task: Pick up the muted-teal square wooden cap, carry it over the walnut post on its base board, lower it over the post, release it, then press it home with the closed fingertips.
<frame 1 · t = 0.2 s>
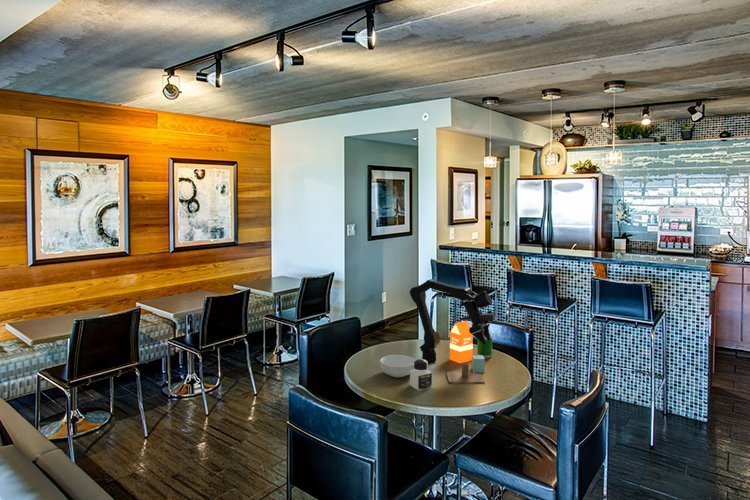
hand: (487, 342, 237), 15 cm above the table, tool tilted 30°, fingers open, 9 cm apart
medicine bottle: (420, 387, 221), on the table
orange juice: (461, 360, 257), on the table
cap: (478, 370, 241), on the table
post: (465, 378, 230), on the table
cereal bowl: (397, 375, 236), on the table
soda can: (484, 356, 262), on the table
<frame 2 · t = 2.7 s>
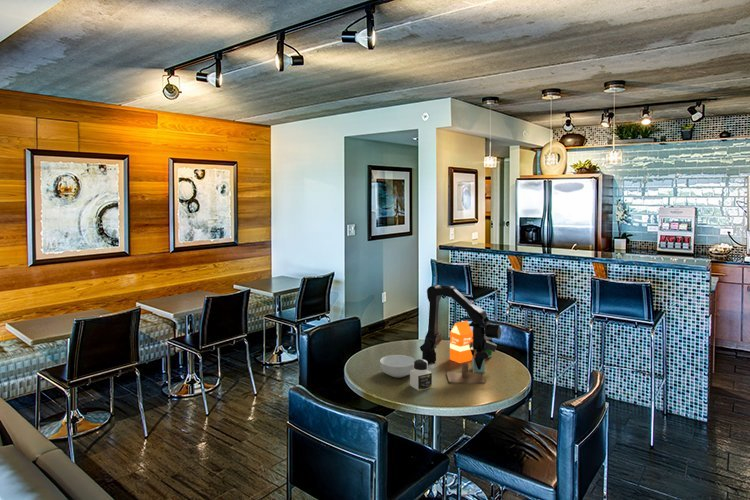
hand: (478, 367, 241), 2 cm above the table, tool pointing down, fingers closed on cap, 5 cm apart
cap: (478, 370, 241), on the table, touching gripper
everything else where it was.
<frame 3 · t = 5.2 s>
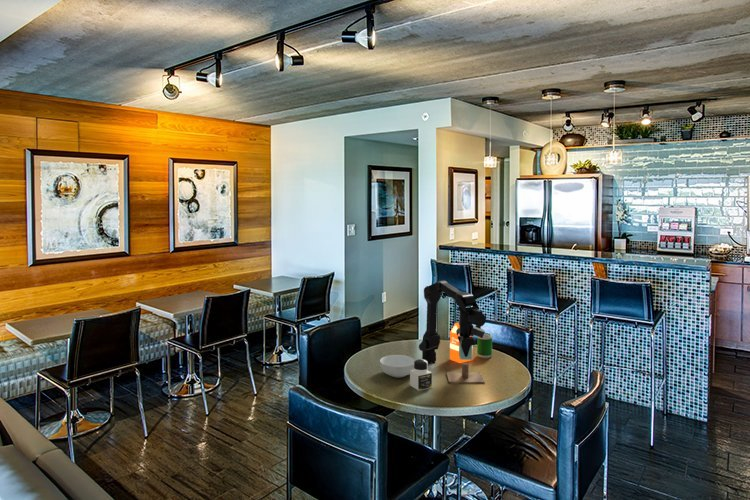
hand: (465, 354, 229), 11 cm above the table, tool pointing down, fingers closed on cap, 5 cm apart
cap: (465, 357, 229), point 10 cm above the table, touching gripper
everything else where it was.
when the fingers open (4 cm above the table, at t = 7.6 s): cap drops 1 cm, resting on post.
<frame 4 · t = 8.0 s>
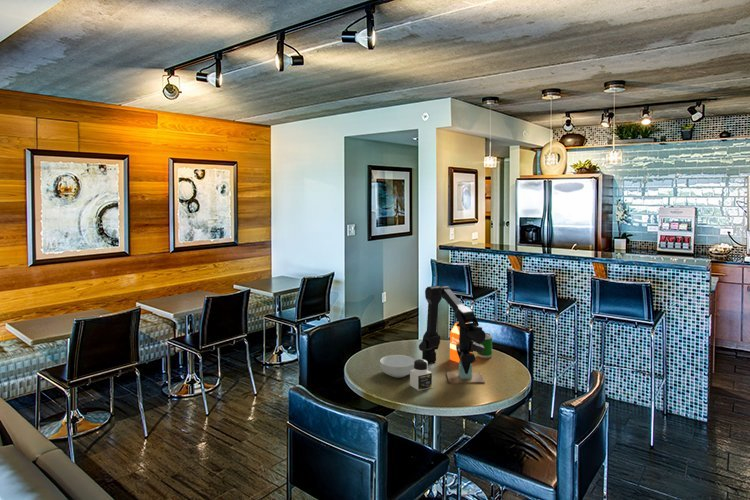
hand: (465, 370, 230), 4 cm above the table, tool pointing down, fingers open, 9 cm apart
cap: (465, 376, 230), point 1 cm above the table, touching post
everything else where it was.
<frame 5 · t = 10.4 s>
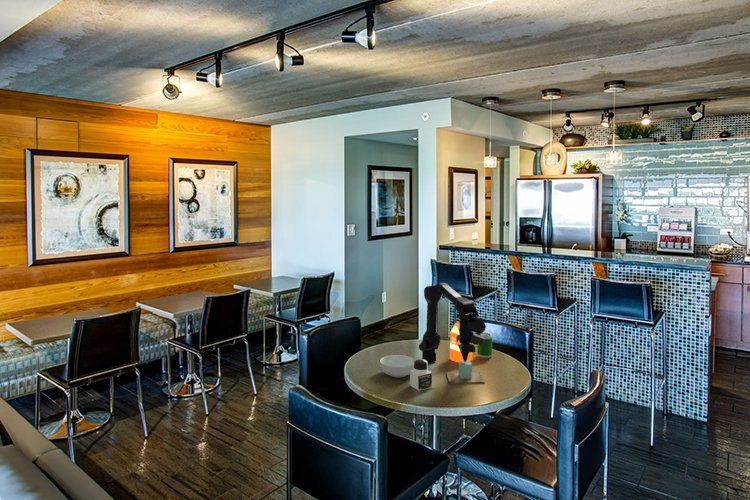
hand: (465, 361, 229), 8 cm above the table, tool pointing down, fingers closed
nothing on the table moved.
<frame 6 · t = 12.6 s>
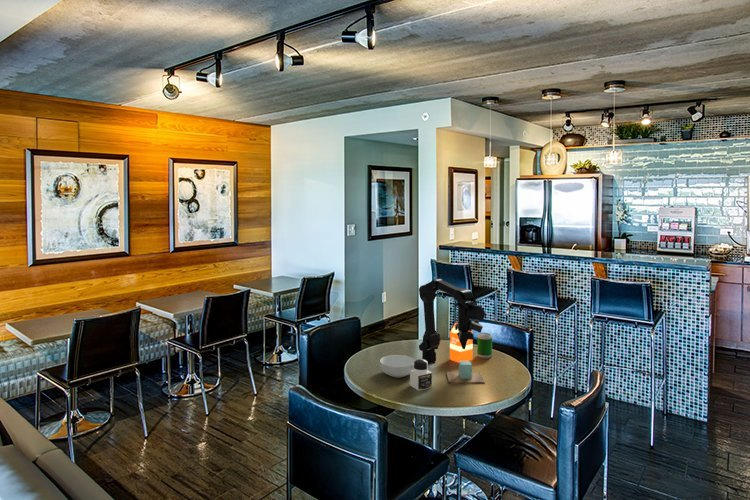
hand: (463, 349, 234), 12 cm above the table, tool pointing down, fingers closed
nothing on the table moved.
at the end: cap 0.1 cm from the post (horizontally); cap point 1.0 cm above the table; the gripper is holding nothing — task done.
